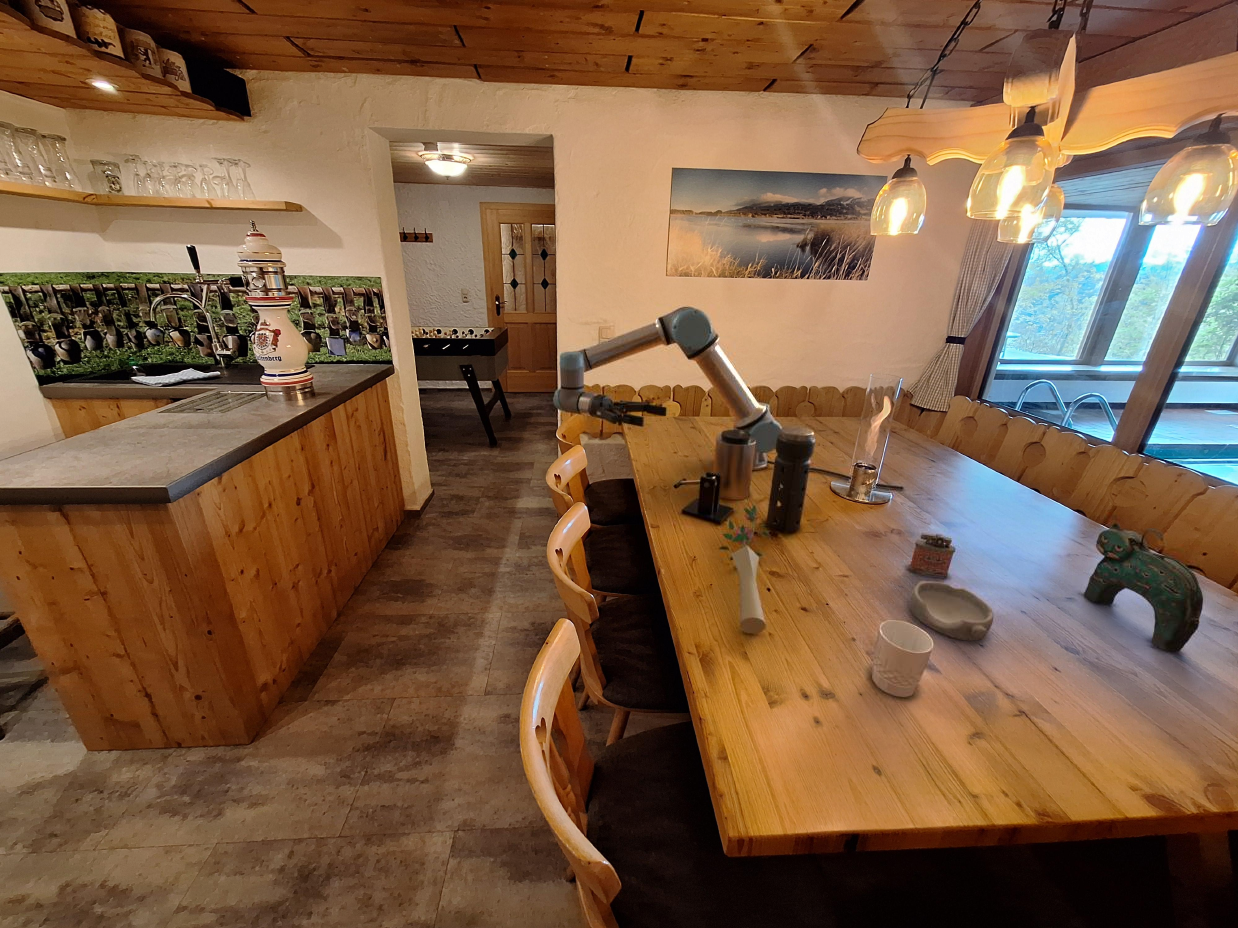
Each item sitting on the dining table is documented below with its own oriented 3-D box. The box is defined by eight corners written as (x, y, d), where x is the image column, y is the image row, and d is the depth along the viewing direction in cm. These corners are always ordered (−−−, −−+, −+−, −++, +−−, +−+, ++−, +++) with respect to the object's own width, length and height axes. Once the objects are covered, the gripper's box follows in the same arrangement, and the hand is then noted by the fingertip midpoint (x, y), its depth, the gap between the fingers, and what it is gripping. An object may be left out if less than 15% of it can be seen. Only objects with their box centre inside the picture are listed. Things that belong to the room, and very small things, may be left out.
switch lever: (674, 490, 144) (672, 482, 144) (683, 484, 149) (681, 476, 148) (711, 488, 137) (709, 480, 136) (719, 481, 142) (718, 474, 141)
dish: (990, 653, 91) (998, 631, 89) (905, 626, 98) (911, 605, 96) (985, 611, 103) (992, 591, 101) (910, 589, 109) (915, 570, 108)
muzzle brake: (805, 536, 131) (796, 518, 141) (822, 437, 121) (811, 425, 131) (769, 534, 132) (762, 516, 142) (783, 435, 122) (774, 424, 131)
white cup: (858, 666, 88) (869, 620, 84) (900, 664, 88) (913, 618, 85) (884, 701, 80) (898, 653, 77) (929, 699, 81) (945, 651, 77)
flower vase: (729, 655, 100) (722, 539, 129) (792, 650, 96) (770, 531, 125) (717, 617, 94) (712, 504, 123) (783, 611, 91) (762, 496, 119)
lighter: (945, 571, 116) (956, 535, 113) (949, 579, 113) (960, 542, 110) (907, 565, 119) (917, 529, 115) (910, 572, 116) (920, 535, 112)
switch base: (681, 513, 143) (684, 476, 138) (696, 501, 150) (699, 466, 146) (720, 525, 137) (724, 486, 132) (733, 511, 144) (737, 475, 140)
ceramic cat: (1071, 590, 110) (1105, 510, 103) (1100, 591, 110) (1136, 511, 103) (1159, 654, 92) (1207, 562, 85) (1194, 655, 92) (1246, 564, 84)
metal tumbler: (705, 493, 156) (710, 435, 149) (719, 481, 165) (725, 426, 158) (741, 503, 150) (748, 442, 143) (754, 490, 159) (761, 432, 152)
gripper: (618, 409, 166) (673, 419, 155) (572, 426, 146) (631, 439, 135) (618, 387, 163) (675, 396, 152) (571, 401, 144) (632, 413, 133)
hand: (654, 416), depth 144 cm, fingers open, 13 cm apart
